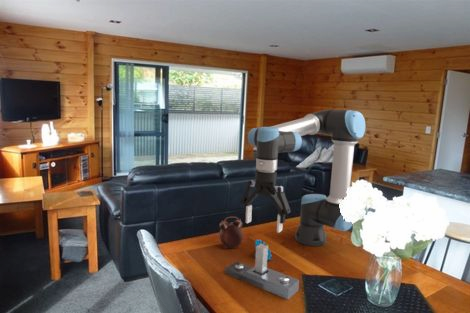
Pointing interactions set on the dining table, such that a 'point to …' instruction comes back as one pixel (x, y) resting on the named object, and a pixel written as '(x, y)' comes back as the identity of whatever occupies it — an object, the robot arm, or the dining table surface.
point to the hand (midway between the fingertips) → (263, 226)
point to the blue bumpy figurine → (263, 244)
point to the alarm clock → (231, 233)
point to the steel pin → (261, 259)
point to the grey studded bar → (265, 279)
